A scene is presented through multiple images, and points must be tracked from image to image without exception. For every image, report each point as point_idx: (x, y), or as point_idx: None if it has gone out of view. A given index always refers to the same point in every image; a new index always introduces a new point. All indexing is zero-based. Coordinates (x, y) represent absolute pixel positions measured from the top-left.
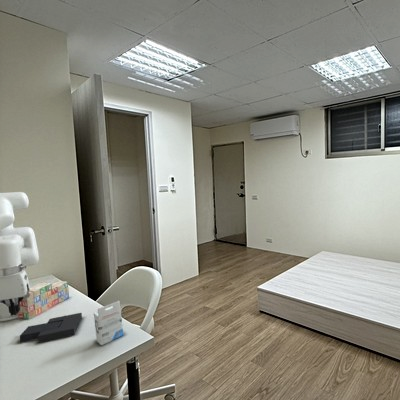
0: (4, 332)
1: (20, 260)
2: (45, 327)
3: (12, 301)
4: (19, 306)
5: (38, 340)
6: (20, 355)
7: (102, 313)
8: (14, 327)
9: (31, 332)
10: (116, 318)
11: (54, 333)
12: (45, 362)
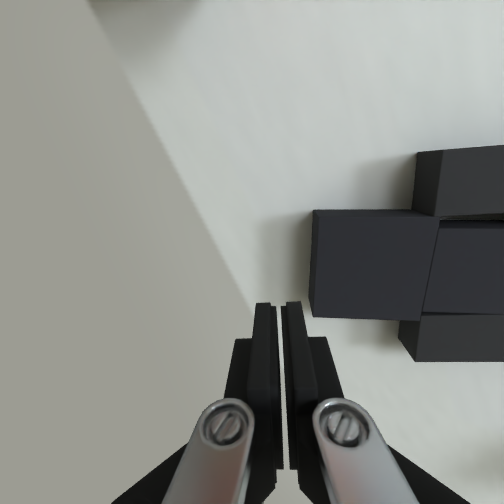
0: (165, 148)
1: None
2: (437, 282)
3: (252, 458)
4: (334, 375)
5: (403, 344)
6: (350, 399)
7: None
8: (190, 95)
9: (367, 308)
10: None
11: (494, 358)
12: (456, 472)
